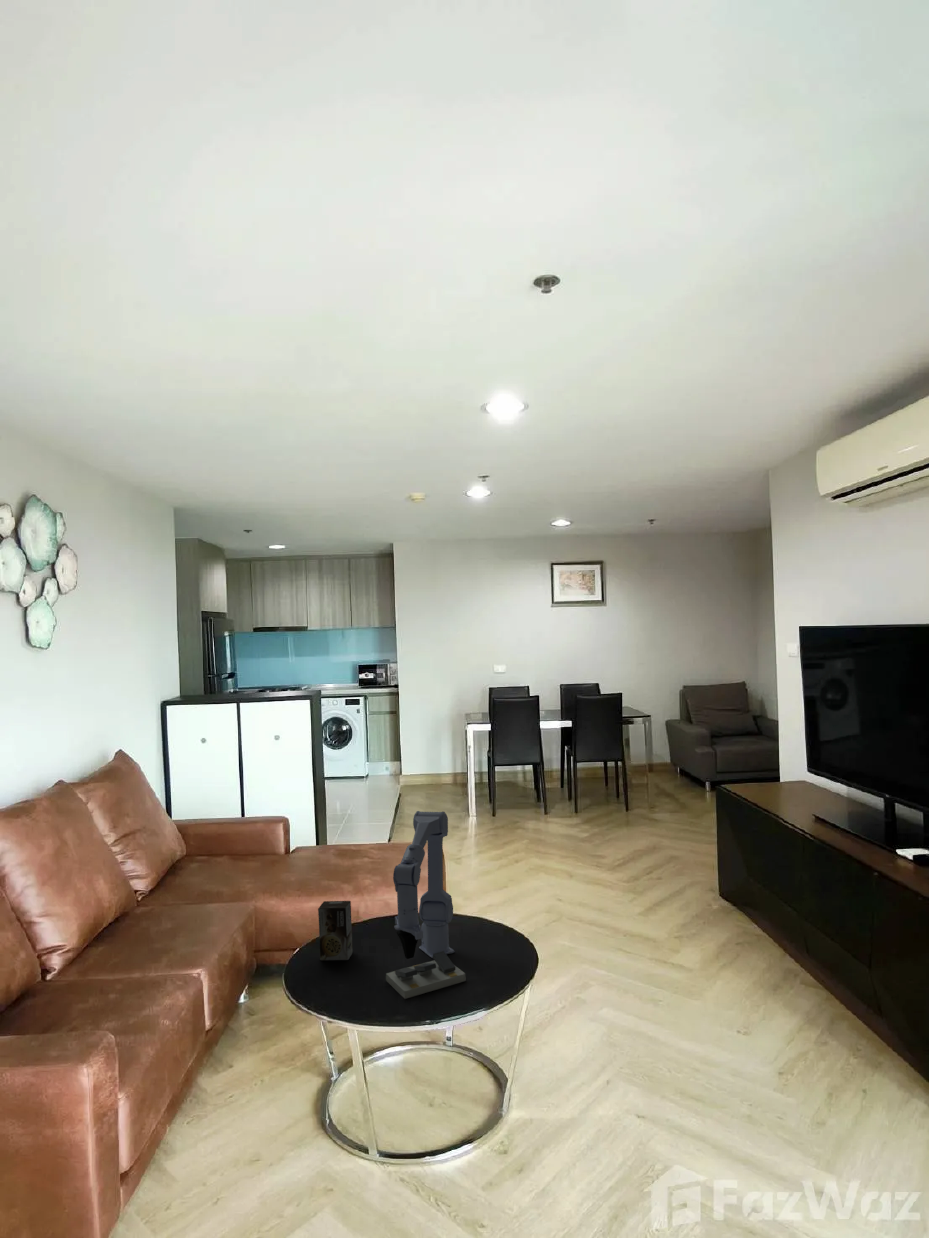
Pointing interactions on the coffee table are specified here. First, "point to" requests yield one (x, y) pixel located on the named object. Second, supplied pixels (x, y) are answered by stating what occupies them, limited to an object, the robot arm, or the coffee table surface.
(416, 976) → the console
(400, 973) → the block
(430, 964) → the rocker mid
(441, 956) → the rocker back
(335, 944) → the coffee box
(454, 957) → the coffee table surface
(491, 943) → the coffee table surface
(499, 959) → the coffee table surface
